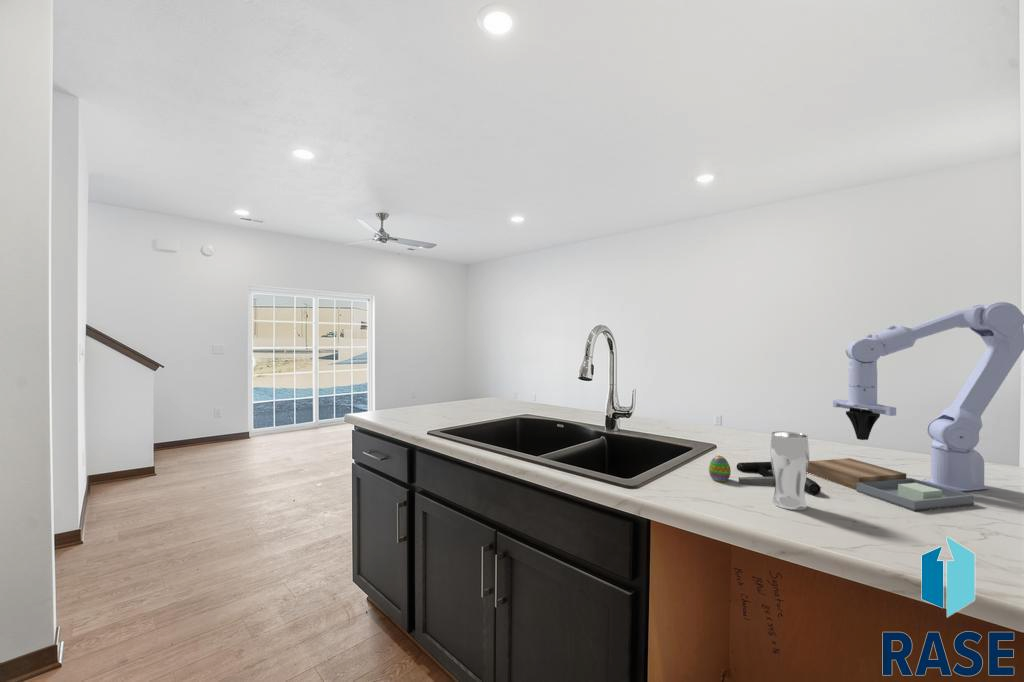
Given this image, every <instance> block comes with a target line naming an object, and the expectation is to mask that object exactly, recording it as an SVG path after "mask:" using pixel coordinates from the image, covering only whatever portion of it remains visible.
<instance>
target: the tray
mask: <svg viewBox="0 0 1024 682" xmlns="http://www.w3.org/2000/svg"><path fill="white" fill-rule="evenodd" d="M908 483H918V484H922V485H925V486H929V487H932V488H936V489H939V490H942V497H941V498H931V499H921V500H911V499H908V498H905V497H902V496H899V495H898V484H908ZM856 492H857V493H860V494H863V495H866V496H868V497H872V498H875V499H878V500H881V501H884V502H886V503H889V504H892V505H894V504H895V506H897V505H898V506H897V507H900V506H901V507H900V508H903V507H904V508H903V509H906V508H907V509H906V510H910V511H912V512H922V511H931V510H930V509H932V510H939V509H938V508H941V509H948V508H947V507H950V508H957V507H958V506H960V507H966V505H969V506H974V505H975V502H974V501H975V498H974V497H975V496H974V495H973V494H971V493H966V492H964V491H961V492H959V491H956V490H952V489H949V488H945V487H941V486H938V485H934V484H931V483H927V482H924V481H921V479H915V478H913V477H910V478H909V477H908V478H907V477H906V479H894V480H883V481H871V482H860V483H857V490H856ZM973 504H974V505H973ZM958 508H959V507H958Z"/></svg>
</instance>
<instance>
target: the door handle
mask: <svg viewBox="0 0 1024 682" xmlns="http://www.w3.org/2000/svg"><path fill="white" fill-rule="evenodd" d="M736 469H737V470H738V471H739V472H742V473H757V474H758V475H760V476H740V477H739V476H738V483H739V484H741V485H742V486H743V485H746V486H748V485H750V486H771V485H772V486H775V481H774V475H773V470H772V465H771V461H753V462H738V463H737V464H736ZM761 475H762V476H761ZM821 489H822V487H821V485H820V484H818V482H816V481H814V480H813V479H811V478H810V477H806V482H805V488H804V492H807V494H811V495H816V496H817V495H818V494H819V493H821V492H822V491H821Z"/></svg>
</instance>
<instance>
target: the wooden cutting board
mask: <svg viewBox="0 0 1024 682" xmlns="http://www.w3.org/2000/svg"><path fill="white" fill-rule="evenodd" d="M809 473H811V474H814V475H817V476H819V477H818V478H820V477H822V478H821V479H823V478H825V479H824V480H826V479H828V480H827V481H829V480H831V481H830V482H832V481H833V482H832V483H835V482H836V484H838V483H839V484H838V485H841V484H842V485H841V486H844V487H847V488H849V489H852V488H853V490H855V489H856V491H857V483H860V482H871V481H883V480H894V479H906V478H907V473H906V472H901V471H898V470H895V469H891V468H887V467H884V466H879V465H876V464H872V463H868V462H865V461H861V460H858V459H853V458H851V457H849V458H848V457H847V458H835V459H833V458H832V459H823V460H822V459H821V460H820V459H819V460H809V467H808V473H807V474H809ZM811 474H810V475H811ZM814 475H813V476H814ZM817 476H816V477H817Z"/></svg>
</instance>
